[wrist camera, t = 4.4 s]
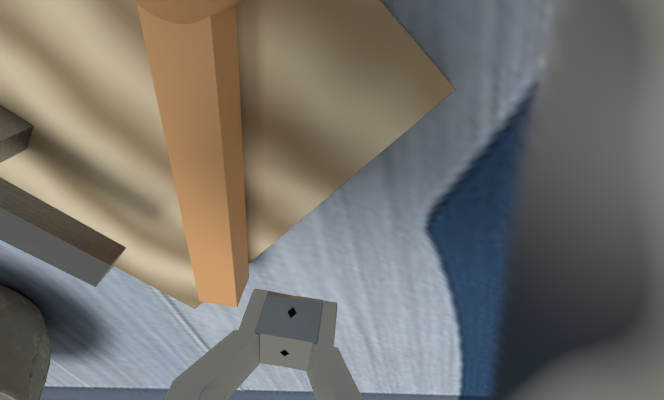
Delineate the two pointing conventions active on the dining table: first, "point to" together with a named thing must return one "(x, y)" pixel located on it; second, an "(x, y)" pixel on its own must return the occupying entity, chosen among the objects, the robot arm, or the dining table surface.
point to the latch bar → (203, 134)
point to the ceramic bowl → (22, 348)
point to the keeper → (48, 219)
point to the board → (256, 116)
